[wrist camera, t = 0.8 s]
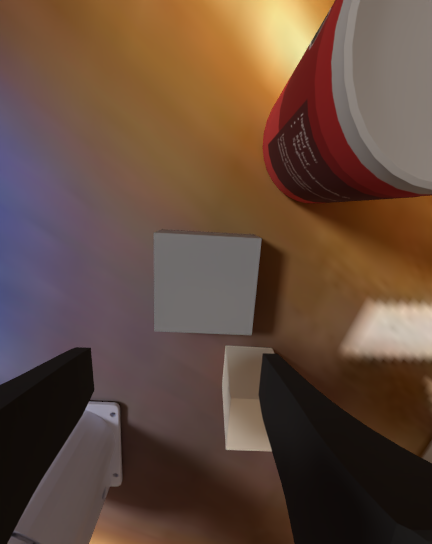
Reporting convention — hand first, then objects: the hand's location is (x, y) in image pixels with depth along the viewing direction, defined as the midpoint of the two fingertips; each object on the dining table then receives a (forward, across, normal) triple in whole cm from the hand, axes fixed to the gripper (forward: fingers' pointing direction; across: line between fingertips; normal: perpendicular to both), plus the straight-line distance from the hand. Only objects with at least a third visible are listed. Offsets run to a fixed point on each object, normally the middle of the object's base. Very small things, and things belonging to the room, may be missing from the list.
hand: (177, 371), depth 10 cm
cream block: (+10, -5, +6) cm, 13 cm away
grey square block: (+10, -1, -2) cm, 10 cm away
